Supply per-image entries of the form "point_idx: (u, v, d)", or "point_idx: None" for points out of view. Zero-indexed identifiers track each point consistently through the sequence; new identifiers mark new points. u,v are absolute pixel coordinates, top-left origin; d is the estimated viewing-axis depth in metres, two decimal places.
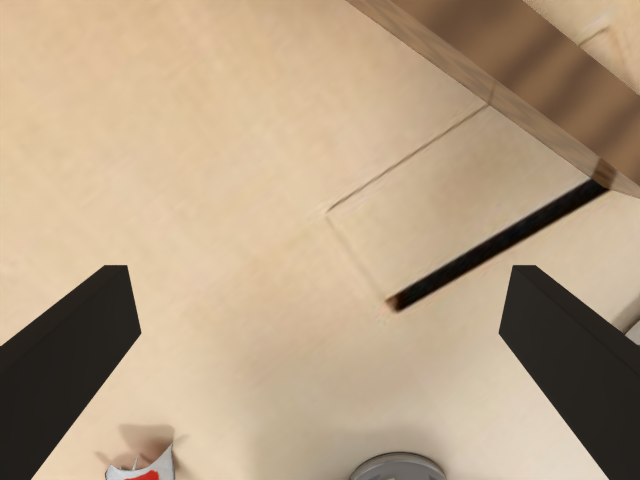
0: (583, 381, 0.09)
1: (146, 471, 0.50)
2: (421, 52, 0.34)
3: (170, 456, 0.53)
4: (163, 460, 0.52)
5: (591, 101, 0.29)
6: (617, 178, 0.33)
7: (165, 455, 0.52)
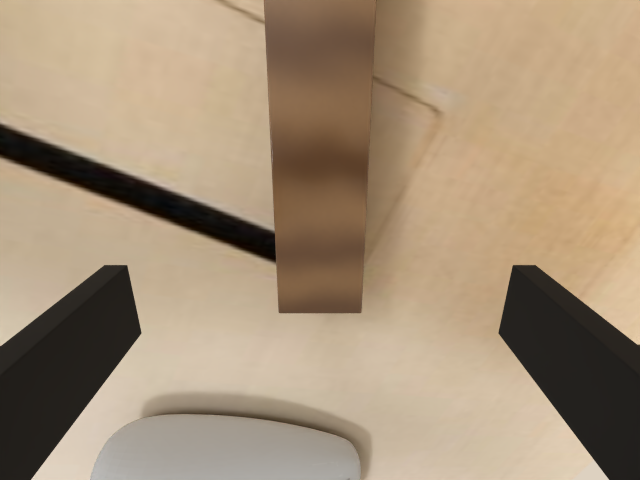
0: (583, 381, 0.09)
1: None
2: None
3: None
4: None
5: (324, 92, 0.18)
6: None
7: None
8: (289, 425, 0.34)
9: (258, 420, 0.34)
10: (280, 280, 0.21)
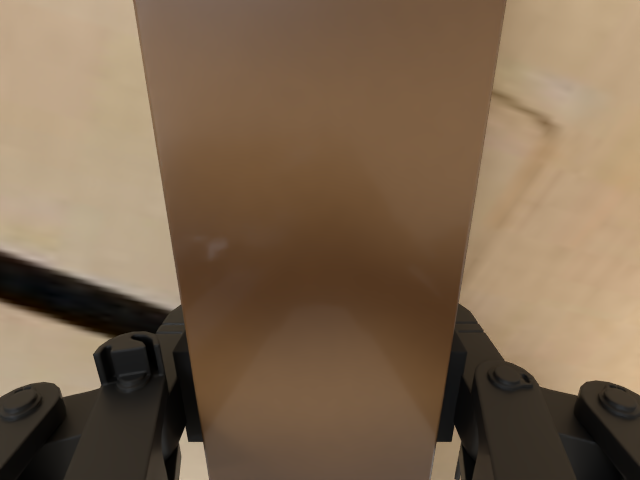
0: None
1: None
2: None
3: None
4: None
5: (333, 79, 0.05)
6: None
7: None
8: None
9: None
10: None
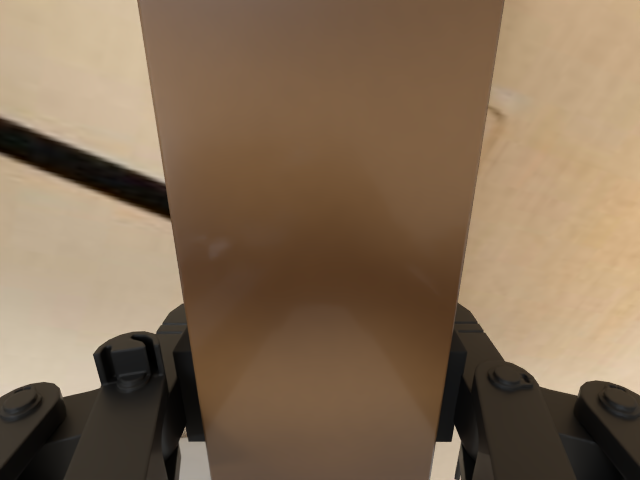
0: None
1: None
2: None
3: None
4: None
5: (333, 78, 0.05)
6: None
7: None
8: None
9: None
10: None
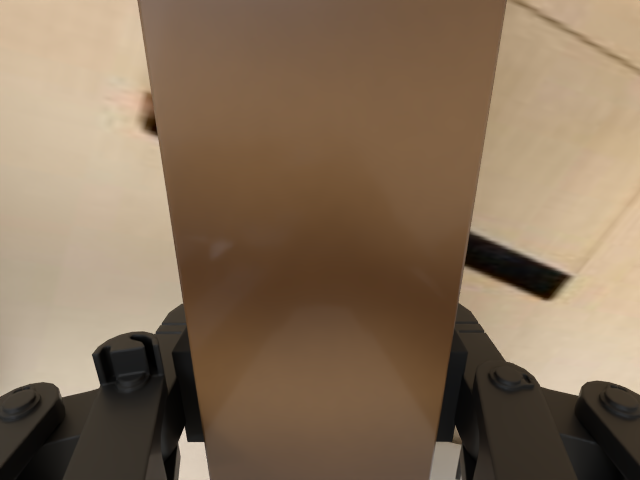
0: None
1: None
2: None
3: None
4: None
5: (334, 78, 0.05)
6: None
7: None
8: None
9: None
10: None
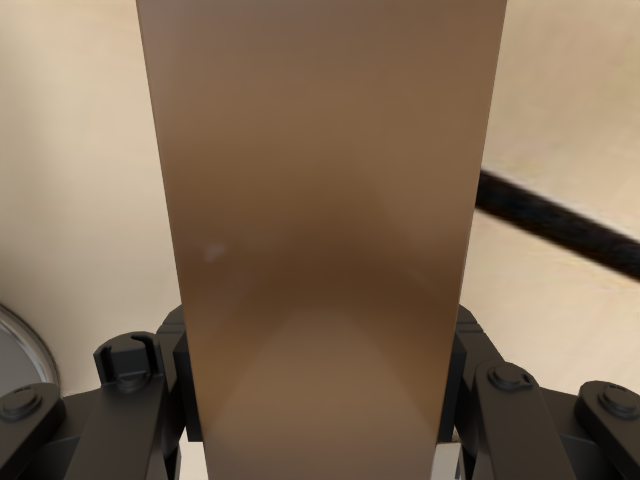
0: None
1: None
2: None
3: None
4: None
5: (335, 74, 0.05)
6: None
7: None
8: None
9: None
10: None
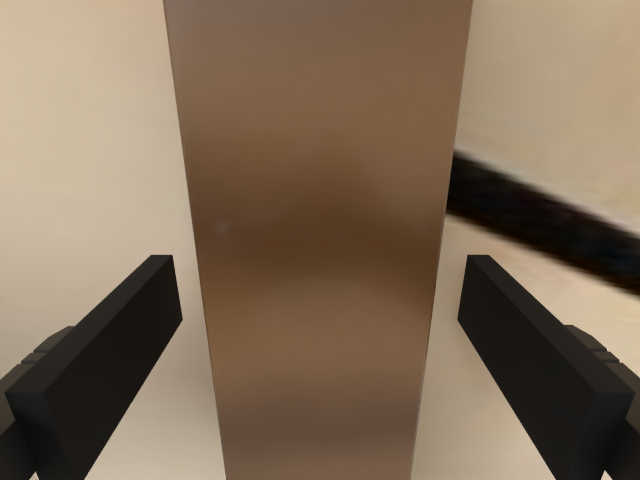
0: (517, 358, 0.10)
1: None
2: None
3: None
4: None
5: (329, 55, 0.06)
6: None
7: None
8: None
9: None
10: (231, 478, 0.10)
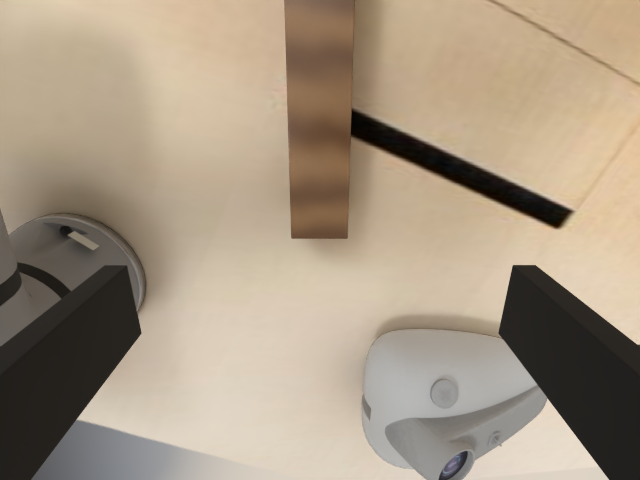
0: (583, 381, 0.09)
1: None
2: None
3: None
4: None
5: (322, 88, 0.28)
6: None
7: None
8: (499, 338, 0.44)
9: None
10: (292, 214, 0.32)
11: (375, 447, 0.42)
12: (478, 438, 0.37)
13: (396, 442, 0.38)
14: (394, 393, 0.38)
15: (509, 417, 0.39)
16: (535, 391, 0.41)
